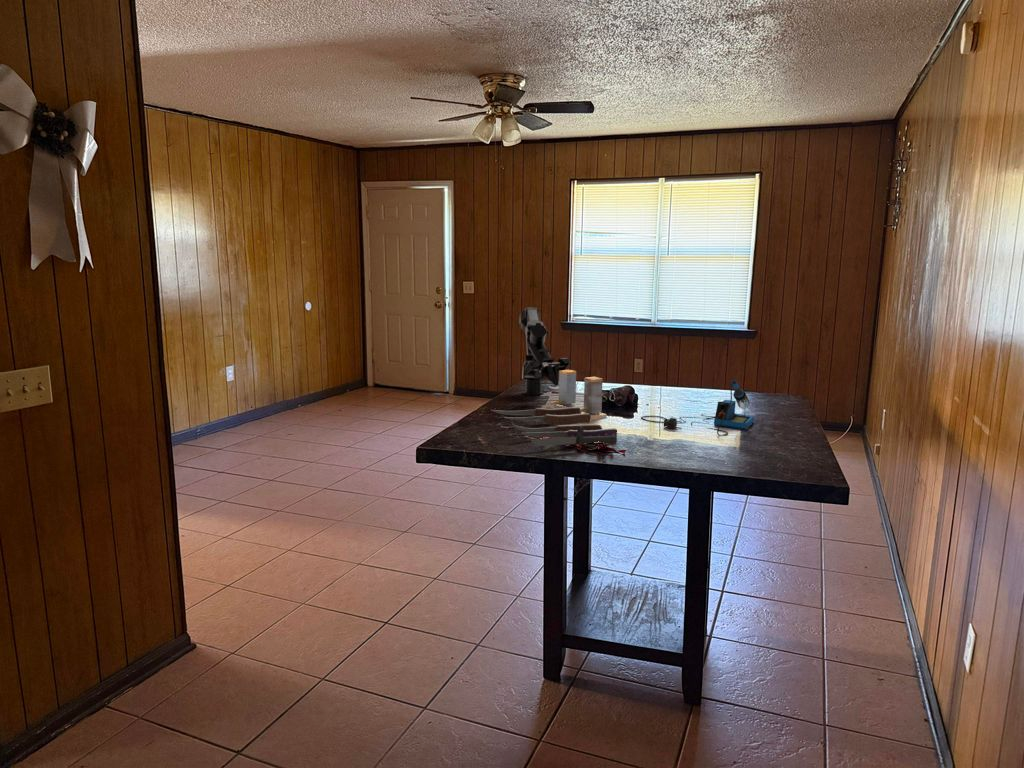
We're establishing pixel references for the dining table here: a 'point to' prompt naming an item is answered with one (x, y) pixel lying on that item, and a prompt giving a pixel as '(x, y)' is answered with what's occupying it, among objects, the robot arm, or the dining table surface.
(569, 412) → the knife set
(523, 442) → the dining table surface
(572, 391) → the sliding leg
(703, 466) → the dining table surface
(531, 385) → the robot arm
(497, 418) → the dining table surface
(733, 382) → the soldering iron
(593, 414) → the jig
